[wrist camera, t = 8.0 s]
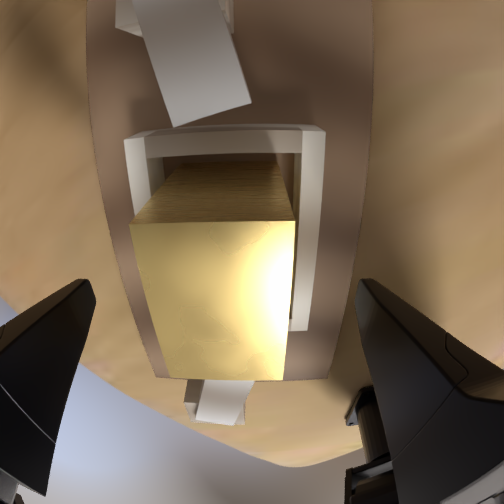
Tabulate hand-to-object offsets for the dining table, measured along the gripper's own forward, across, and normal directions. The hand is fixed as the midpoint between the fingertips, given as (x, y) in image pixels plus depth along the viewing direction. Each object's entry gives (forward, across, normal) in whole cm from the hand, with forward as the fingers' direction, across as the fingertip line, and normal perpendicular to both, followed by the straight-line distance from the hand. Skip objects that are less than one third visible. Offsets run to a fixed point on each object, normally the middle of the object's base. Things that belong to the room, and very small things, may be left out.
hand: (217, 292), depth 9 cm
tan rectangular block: (+5, 0, 0) cm, 5 cm away
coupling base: (+6, 0, 0) cm, 6 cm away
